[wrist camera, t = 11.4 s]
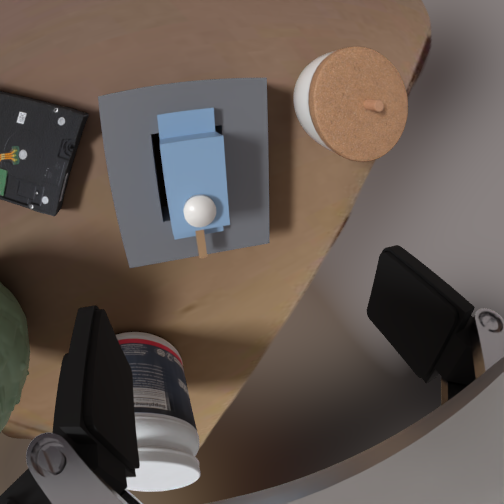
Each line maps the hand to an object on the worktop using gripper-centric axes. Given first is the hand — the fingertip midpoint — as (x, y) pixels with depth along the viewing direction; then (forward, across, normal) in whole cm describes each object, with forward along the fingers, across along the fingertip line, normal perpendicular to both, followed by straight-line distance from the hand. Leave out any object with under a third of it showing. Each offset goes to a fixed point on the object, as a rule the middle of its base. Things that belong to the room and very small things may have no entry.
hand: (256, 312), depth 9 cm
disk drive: (+23, +18, -6) cm, 30 cm away
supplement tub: (+22, +11, +25) cm, 35 cm away
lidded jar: (+22, -15, -6) cm, 27 cm away
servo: (+22, 0, 0) cm, 22 cm away
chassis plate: (+22, 0, 0) cm, 22 cm away
